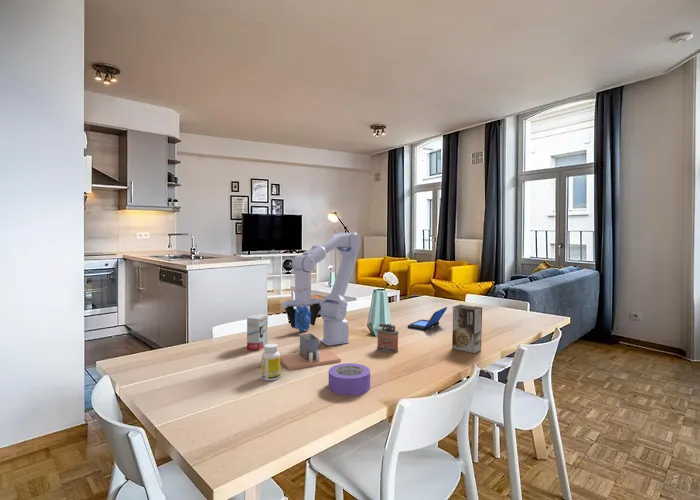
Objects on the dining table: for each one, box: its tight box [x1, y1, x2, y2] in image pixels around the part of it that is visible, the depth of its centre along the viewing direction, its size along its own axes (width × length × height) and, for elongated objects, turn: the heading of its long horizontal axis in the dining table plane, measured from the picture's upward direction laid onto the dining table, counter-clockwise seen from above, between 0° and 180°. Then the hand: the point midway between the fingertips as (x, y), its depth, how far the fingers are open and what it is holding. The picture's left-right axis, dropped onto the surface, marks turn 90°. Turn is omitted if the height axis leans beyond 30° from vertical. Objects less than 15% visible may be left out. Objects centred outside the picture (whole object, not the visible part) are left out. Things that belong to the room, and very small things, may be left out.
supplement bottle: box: [261, 343, 281, 382], centre depth 118 cm, size 5×5×10 cm
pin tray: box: [280, 344, 342, 371], centre depth 134 cm, size 18×12×4 cm, turn 117°
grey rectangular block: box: [299, 333, 320, 361], centre depth 134 cm, size 4×7×7 cm, turn 27°
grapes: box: [294, 306, 311, 333], centre depth 170 cm, size 12×7×12 cm, turn 139°
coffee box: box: [451, 304, 483, 354], centre depth 149 cm, size 9×6×16 cm
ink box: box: [246, 313, 269, 351], centre depth 148 cm, size 9×5×12 cm, turn 168°
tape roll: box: [328, 362, 371, 397], centre depth 112 cm, size 12×12×5 cm
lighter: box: [376, 322, 400, 354], centre depth 146 cm, size 8×3×10 cm, turn 65°
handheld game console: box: [407, 306, 448, 332], centre depth 183 cm, size 16×13×9 cm
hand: (302, 326), depth 143 cm, fingers open, 7 cm apart
